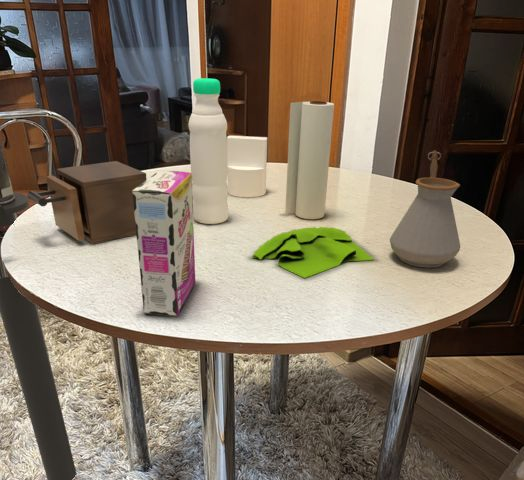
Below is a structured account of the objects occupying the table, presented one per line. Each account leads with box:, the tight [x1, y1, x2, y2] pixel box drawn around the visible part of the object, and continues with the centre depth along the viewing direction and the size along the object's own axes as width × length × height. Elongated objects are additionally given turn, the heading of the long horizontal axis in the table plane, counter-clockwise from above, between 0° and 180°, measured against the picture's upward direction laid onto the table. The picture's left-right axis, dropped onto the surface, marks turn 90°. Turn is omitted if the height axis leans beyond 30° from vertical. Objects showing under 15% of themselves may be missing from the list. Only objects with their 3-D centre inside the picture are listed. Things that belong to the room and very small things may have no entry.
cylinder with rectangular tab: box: [226, 135, 268, 198], centre depth 117 cm, size 9×9×12 cm
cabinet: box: [55, 160, 148, 245], centre depth 93 cm, size 12×12×11 cm
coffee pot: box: [389, 149, 461, 269], centre depth 87 cm, size 21×12×15 cm, turn 166°
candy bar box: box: [132, 170, 196, 317], centre depth 68 cm, size 11×5×16 cm, turn 174°
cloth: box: [251, 226, 375, 279], centre depth 88 cm, size 20×22×2 cm
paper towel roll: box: [284, 100, 335, 220], centre depth 101 cm, size 7×6×21 cm
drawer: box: [26, 175, 90, 242], centre depth 91 cm, size 15×10×9 cm
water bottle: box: [187, 77, 229, 225], centre depth 96 cm, size 7×7×25 cm
